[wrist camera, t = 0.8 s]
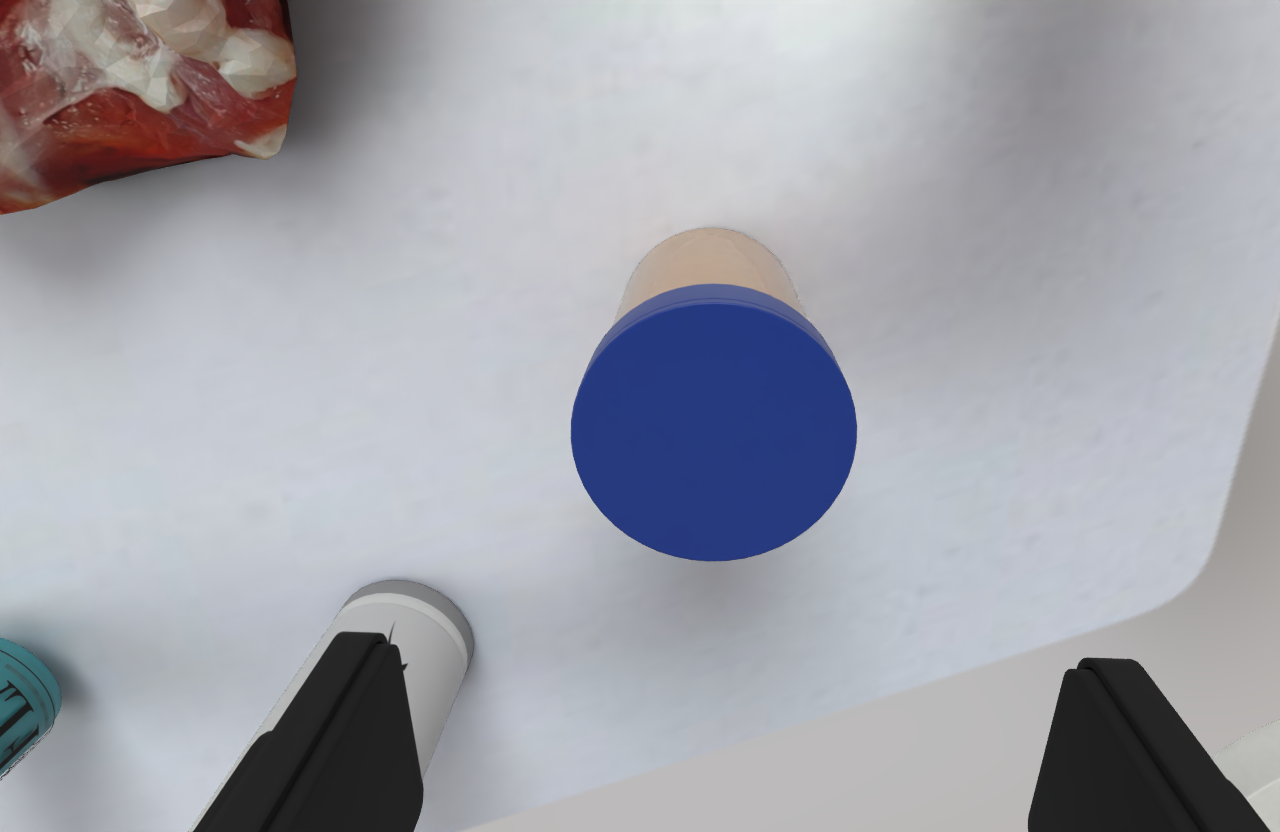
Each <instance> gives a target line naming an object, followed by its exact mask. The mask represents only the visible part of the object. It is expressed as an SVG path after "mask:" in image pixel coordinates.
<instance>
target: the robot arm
mask: <svg viewBox="0 0 1280 832" xmlns="http://www.w3.org/2000/svg"><path fill="white" fill-rule="evenodd" d="M422 803H423V782H422V776H421V770H420V765H419V759H418V753H417V747H416V742H415V736H414V730H413V724H412V719H411V713H410V707H409V701H408V696H407V690H406V684H405V678H404V673H403V667H402V661H401V655H400V651H399V648H398V646H397V645H395V644H388V641H387V638H386V636H385V635H384V634H383V633H376V632H348V631H342V632H340V633H338V634H337V635H336V636H335V637H334V638H333V640H332V641H331V643H330V644H329V646H328V647H327V649H326V650H325V652H324V653H323V655H322V656H321V658H320V659H319V661H318V662H317V664H316V665H315V667H314V668H313V670H312V671H311V673H310V674H309V676H308V677H307V679H306V680H305V682H304V683H303V685H302V686H301V688H300V689H299V691H298V692H297V694H296V695H295V697H294V698H293V700H292V701H291V703H290V704H289V706H288V707H287V709H286V710H285V712H284V713H283V715H282V716H281V718H280V719H279V721H278V722H277V724H276V725H275V727H274V728H273V730H272V731H267V732H266V733H264V734H262V735H261V736H259V737H258V739H257V740H256V741H255V742H254V743H253V744H252V746H251V747H250V748H249V750H248V751H247V753H246V754H245V756H244V757H243V759H242V760H241V762H240V763H239V765H238V766H237V768H236V769H235V770H234V772H233V773H232V775H231V776H230V778H229V779H228V781H227V782H226V784H225V785H224V787H223V788H222V790H221V791H220V793H219V794H218V795H217V797H216V798H215V800H214V801H213V803H212V804H211V806H210V807H209V809H208V810H207V812H206V813H205V815H204V816H203V817H202V819H201V820H200V822H199V823H198V825H197V826H196V828H195V829H194V831H193V832H414V829H415V827H416V824H417V821H418V819H419V816H420V813H421V808H422ZM1028 832H1271V831H1270V830H1269V828H1268V827H1267V826H1266V825H1265V823H1264V822H1263V821H1262V819H1261V818H1260V817H1259V815H1258V814H1257V813H1256V811H1255V810H1254V809H1253V807H1252V806H1251V805H1250V803H1249V802H1248V801H1247V799H1246V798H1245V797H1244V796H1243V794H1242V793H1241V792H1240V791H1239V790H1238V789H1237V788H1236V787H1235V785H1234V784H1233V783H1232V782H1231V781H1230V780H1228V779H1226V777H1225V776H1224V775H1223V773H1222V772H1221V771H1220V769H1219V768H1218V767H1217V765H1216V764H1215V763H1214V761H1213V760H1212V759H1211V757H1210V756H1209V755H1208V753H1207V752H1206V751H1205V749H1204V748H1203V747H1202V745H1201V744H1200V743H1199V741H1198V740H1197V739H1196V737H1195V736H1194V735H1193V733H1192V732H1191V731H1190V730H1189V728H1188V727H1187V725H1186V724H1185V723H1184V721H1183V720H1182V719H1181V718H1180V716H1179V715H1178V713H1177V712H1176V711H1175V709H1174V708H1173V707H1172V705H1171V704H1170V703H1169V702H1168V700H1167V699H1166V697H1165V696H1164V695H1163V694H1162V692H1161V691H1160V690H1159V688H1158V687H1157V686H1156V684H1155V683H1154V681H1153V680H1152V679H1151V678H1150V676H1149V675H1148V674H1147V672H1146V671H1145V670H1144V668H1143V667H1142V666H1141V665H1140V664H1139V663H1138V662H1136V661H1134V660H1132V659H1112V658H1083V659H1082V660H1081V661H1080V662H1079V664H1078V666H1077V669H1068V670H1067V671H1066V672H1065V675H1064V677H1063V681H1062V685H1061V689H1060V693H1059V697H1058V701H1057V705H1056V709H1055V713H1054V717H1053V721H1052V725H1051V729H1050V733H1049V737H1048V741H1047V745H1046V749H1045V753H1044V757H1043V760H1042V764H1041V768H1040V773H1039V776H1038V780H1037V785H1036V788H1035V792H1034V796H1033V801H1032V804H1031V808H1030V812H1029V817H1028Z"/></svg>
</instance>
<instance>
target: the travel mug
mask: <svg viewBox="0 0 1280 832" xmlns="http://www.w3.org/2000/svg"><path fill="white" fill-rule="evenodd" d="M342 631H348V632H376V633H383V634H384V635H385V636H386V638H387V641H388V644H395V645H397V646H398V648H399V651H400V655H401V661H402V667H403V673H404V678H405V684H406V690H407V696H408V701H409V707H410V713H411V719H412V724H413V730H414V736H415V742H416V747H417V753H418V759H419V765H420V770H421V776H422V780H423V778H424V775H425V773H426V770H427V768H428V765H429V763H430V760H431V758H432V755H433V753H434V750H435V748H436V745H437V743H438V740H439V738H440V735H441V733H442V730H443V728H444V725H445V723H446V721H447V718H448V716H449V713H450V711H451V708H452V706H453V703H454V701H455V698H456V696H457V693H458V691H459V688H460V685H461V682H462V680H463V678H464V676H465V673H466V671H467V668H468V666H469V664H470V661H471V657H472V654H473V638H472V633H471V629H470V627H469V625H468V623H467V621H466V619H465V617H464V616H463V614H462V613H461V612H460V610H459V609H458V608H457V607H456V606H455V605H454V604H453V603H452V602H451V601H450V600H449V599H448V598H446V597H445V596H443V595H442V594H441V593H439V592H438V591H435V590H433V589H431V588H429V587H427V586H425V585H421V584H418V583H415V582H410V581H402V580H387V581H381V582H377V583H372V584H370V585H368V586H365V587H363V588H361V589H360V590H358V591H357V592H356V593H354V594H353V595H352V596H351V597H350V598H349V599H348V601H347V602H346V603H345V604H344V606H343V607H342V609H341V610H340V612H339V613H338V615H337V616H336V617H335V619H334V621H333V623H332V624H331V625H330V626H329V628H328V629H327V631H326V632H325V633H324V635H323V636H322V638H321V639H320V641H319V642H318V644H317V645H316V646H315V648H314V649H313V651H312V652H311V654H310V655H309V657H308V658H307V660H306V661H305V662H304V664H303V665H302V667H301V668H300V670H299V671H298V673H297V674H296V676H295V677H294V678H293V680H292V681H291V683H290V684H289V686H288V687H287V689H286V690H285V692H284V693H283V694H282V696H281V697H280V699H279V700H278V702H277V703H276V705H275V706H274V708H273V709H272V710H271V712H270V713H269V715H268V716H267V718H266V719H265V721H264V722H263V723H262V725H261V726H260V728H259V729H258V731H257V732H256V734H255V735H254V737H253V738H252V739H251V741H250V742H249V744H248V745H247V747H246V748H245V750H244V751H243V753H242V754H241V755H240V757H239V758H238V760H237V761H236V763H235V764H234V766H233V767H232V769H231V770H230V771H229V773H228V774H227V776H226V777H225V779H224V780H223V782H222V783H221V785H220V786H219V787H218V789H217V790H216V792H215V793H214V795H213V796H212V798H211V799H210V800H209V802H208V803H207V805H206V806H205V808H204V809H203V811H202V812H201V814H200V815H199V816H198V818H197V819H196V821H195V822H194V824H193V825H192V827H191V828H190V830H189V831H188V832H193V831H194V829H195V828H196V826H197V825H198V823H199V822H200V820H201V819H202V817H203V816H204V815H205V813H206V812H207V810H208V809H209V807H210V806H211V804H212V803H213V801H214V800H215V798H216V797H217V795H218V794H219V793H220V791H221V790H222V788H223V787H224V785H225V784H226V782H227V781H228V779H229V778H230V776H231V775H232V773H233V772H234V770H235V769H236V768H237V766H238V765H239V763H240V762H241V760H242V759H243V757H244V756H245V754H246V753H247V751H248V750H249V748H250V747H251V746H252V744H253V743H254V742H255V741H256V740H257V739H258V737H259V736H261V735H262V734H264V733H266V732H267V731H272V730H273V728H274V727H275V725H276V724H277V722H278V721H279V719H280V718H281V716H282V715H283V713H284V712H285V710H286V709H287V707H288V706H289V704H290V703H291V701H292V700H293V698H294V697H295V695H296V694H297V692H298V691H299V689H300V688H301V686H302V685H303V683H304V682H305V680H306V679H307V677H308V676H309V674H310V673H311V671H312V670H313V668H314V667H315V665H316V664H317V662H318V661H319V659H320V658H321V656H322V655H323V653H324V652H325V650H326V649H327V647H328V646H329V644H330V643H331V641H332V640H333V638H334V637H335V636H336V635H337V634H338V633H340V632H342Z"/></svg>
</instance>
